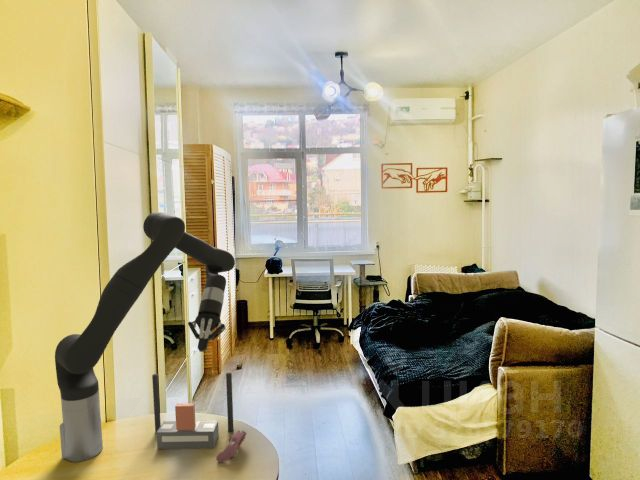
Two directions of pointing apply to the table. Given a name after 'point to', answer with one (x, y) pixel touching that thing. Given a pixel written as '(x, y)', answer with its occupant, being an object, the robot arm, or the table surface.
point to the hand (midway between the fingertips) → (201, 350)
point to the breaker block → (187, 436)
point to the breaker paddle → (185, 416)
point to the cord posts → (157, 404)
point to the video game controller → (232, 446)
